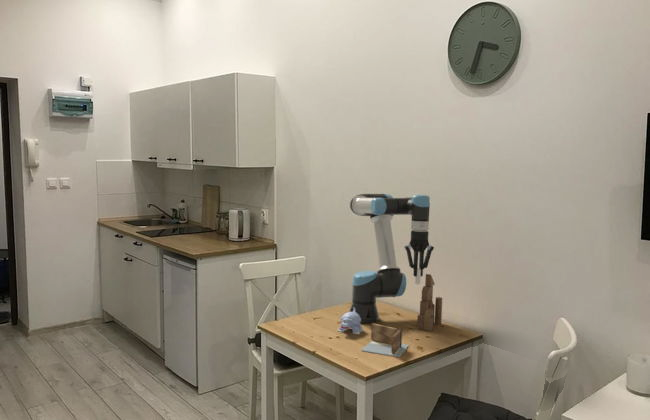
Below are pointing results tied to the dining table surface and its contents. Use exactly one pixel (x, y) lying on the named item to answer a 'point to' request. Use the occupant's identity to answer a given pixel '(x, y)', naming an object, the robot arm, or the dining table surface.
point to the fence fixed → (396, 341)
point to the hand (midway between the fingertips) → (417, 283)
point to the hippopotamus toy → (351, 322)
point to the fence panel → (382, 333)
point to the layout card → (383, 348)
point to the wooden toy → (429, 307)
